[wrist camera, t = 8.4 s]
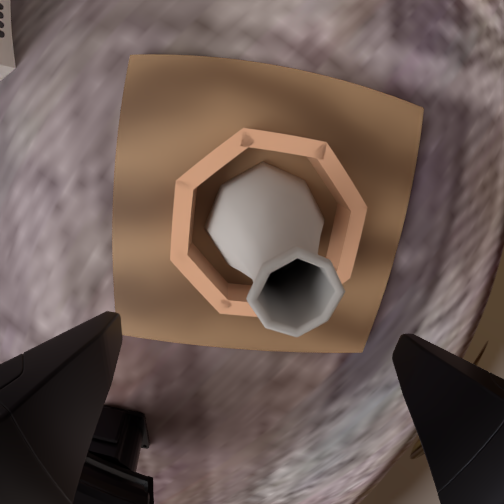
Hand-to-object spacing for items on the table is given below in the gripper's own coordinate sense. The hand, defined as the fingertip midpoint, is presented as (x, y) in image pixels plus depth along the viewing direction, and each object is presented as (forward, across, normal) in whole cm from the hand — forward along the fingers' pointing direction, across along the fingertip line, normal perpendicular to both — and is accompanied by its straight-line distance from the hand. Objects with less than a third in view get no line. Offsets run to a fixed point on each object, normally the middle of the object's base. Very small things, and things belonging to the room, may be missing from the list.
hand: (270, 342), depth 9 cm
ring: (+12, -1, -1) cm, 12 cm away
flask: (+12, -1, -1) cm, 12 cm away
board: (+13, -1, -1) cm, 13 cm away
